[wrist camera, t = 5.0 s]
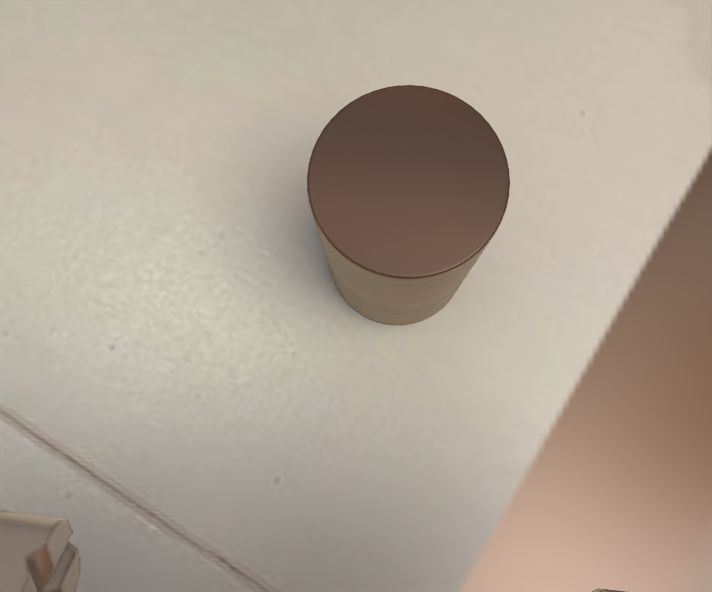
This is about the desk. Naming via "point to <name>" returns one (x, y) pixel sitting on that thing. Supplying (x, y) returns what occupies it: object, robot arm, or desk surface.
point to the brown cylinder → (406, 199)
